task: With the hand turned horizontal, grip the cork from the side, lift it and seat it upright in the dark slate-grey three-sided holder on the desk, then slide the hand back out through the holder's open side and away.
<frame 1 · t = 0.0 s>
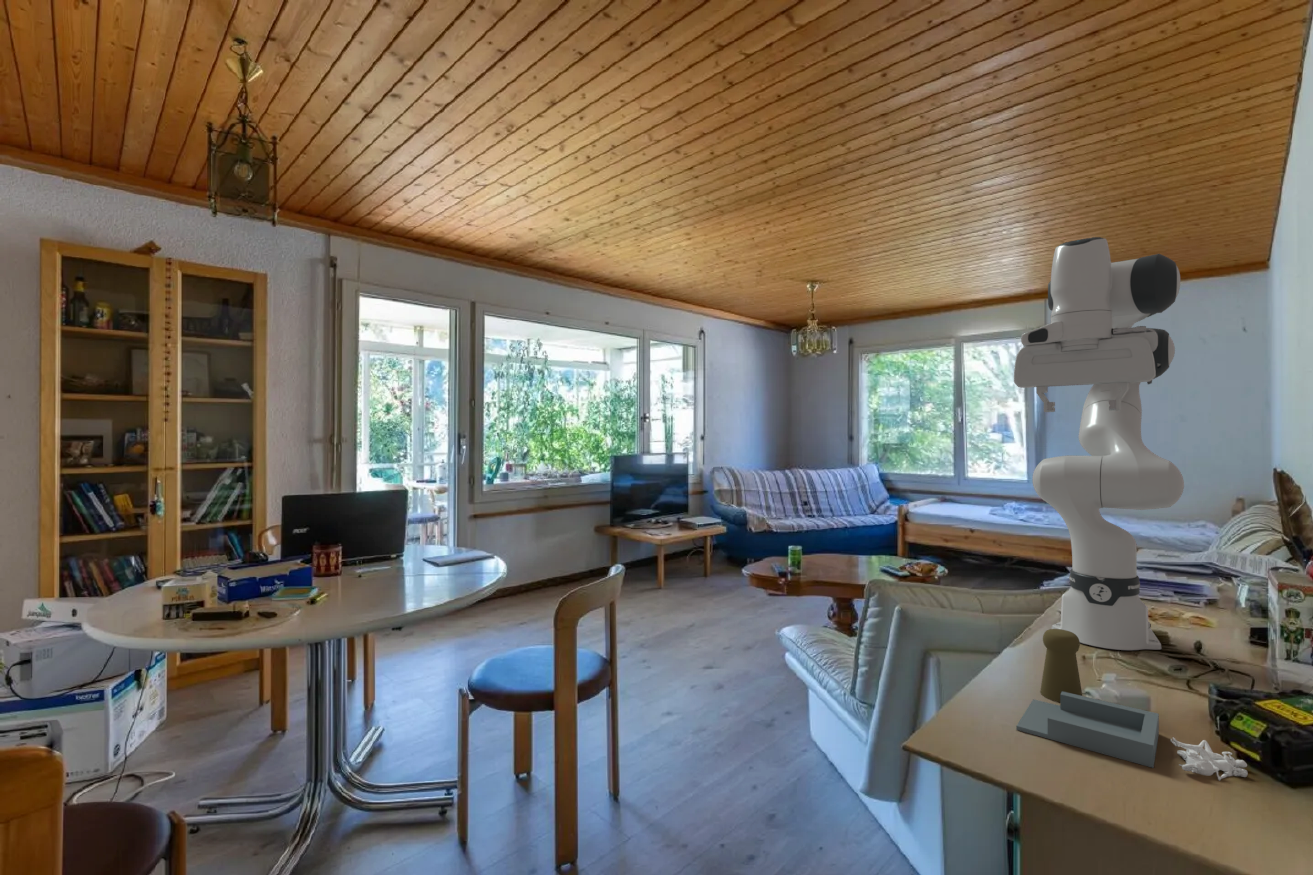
hand: (1081, 411, 107), 48 cm above the table, fingers open, 8 cm apart
cork: (1061, 697, 104), on the table
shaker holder: (1103, 736, 90), on the table
figurine: (1210, 772, 81), on the table
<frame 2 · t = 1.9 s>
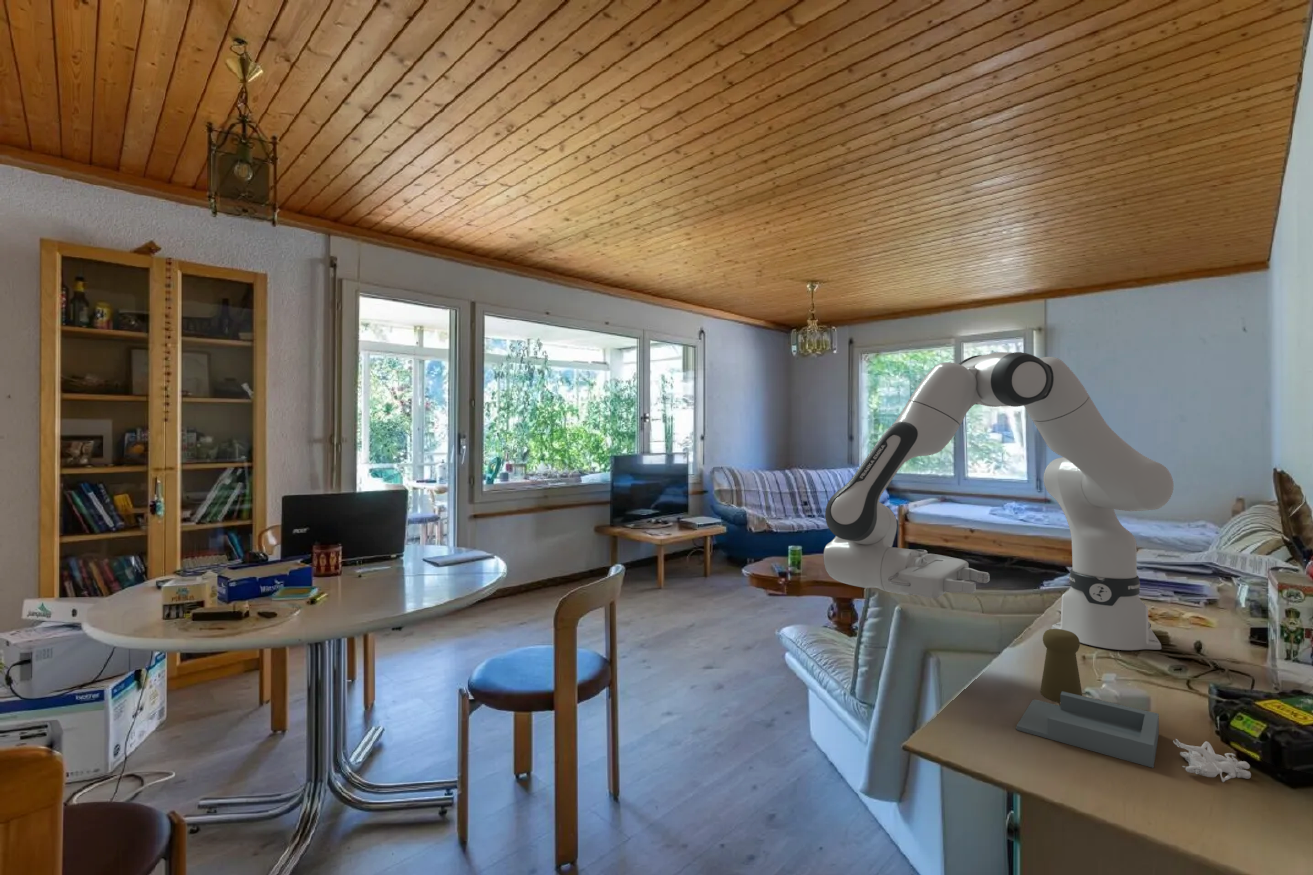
hand: (981, 582, 111), 17 cm above the table, fingers open, 8 cm apart
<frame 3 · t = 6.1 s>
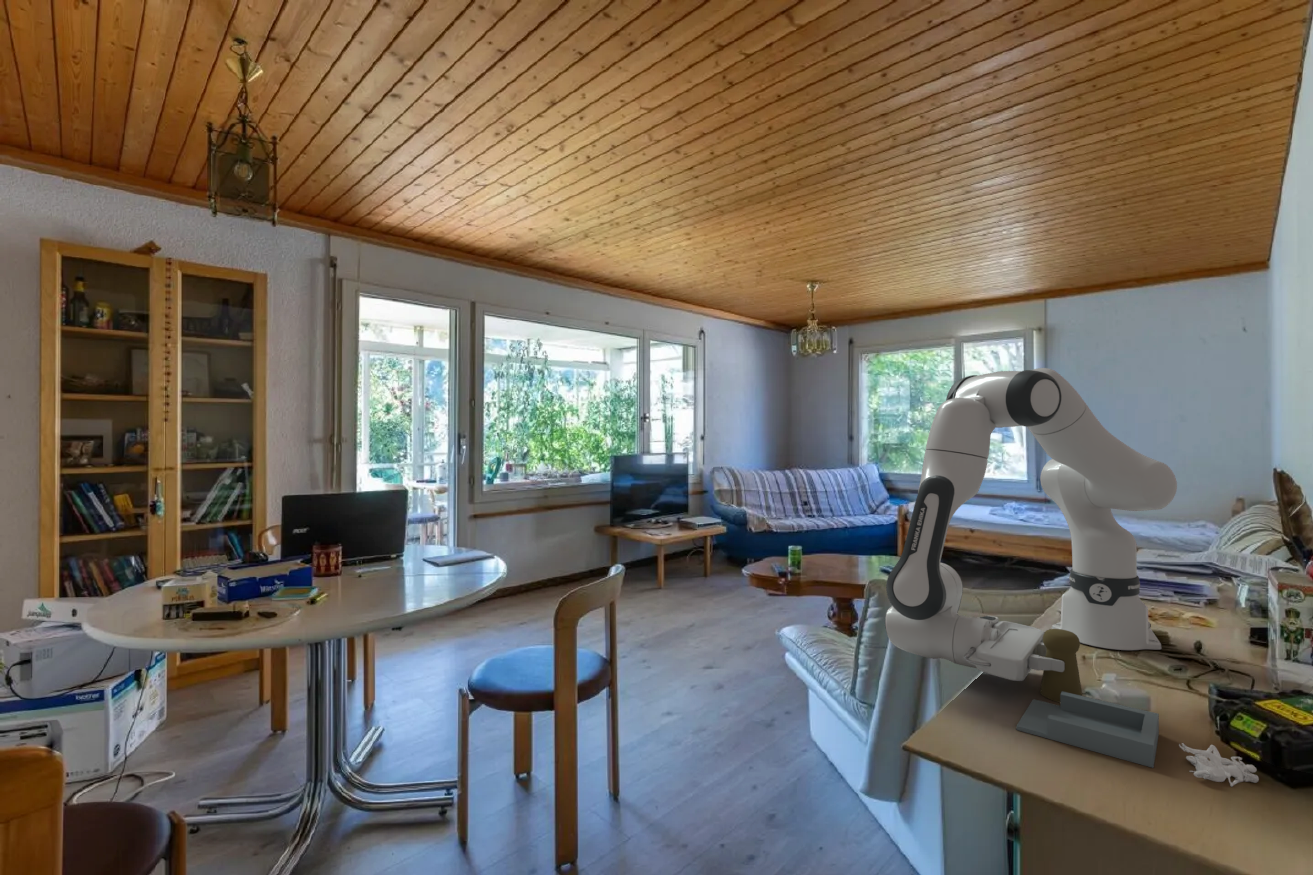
hand: (1067, 661, 103), 6 cm above the table, fingers closed on cork, 4 cm apart
cork: (1061, 696, 104), on the table, touching gripper
when the fingers open (7 cm above the table, at t = 11.5 s): cork stays where it is, resting on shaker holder.
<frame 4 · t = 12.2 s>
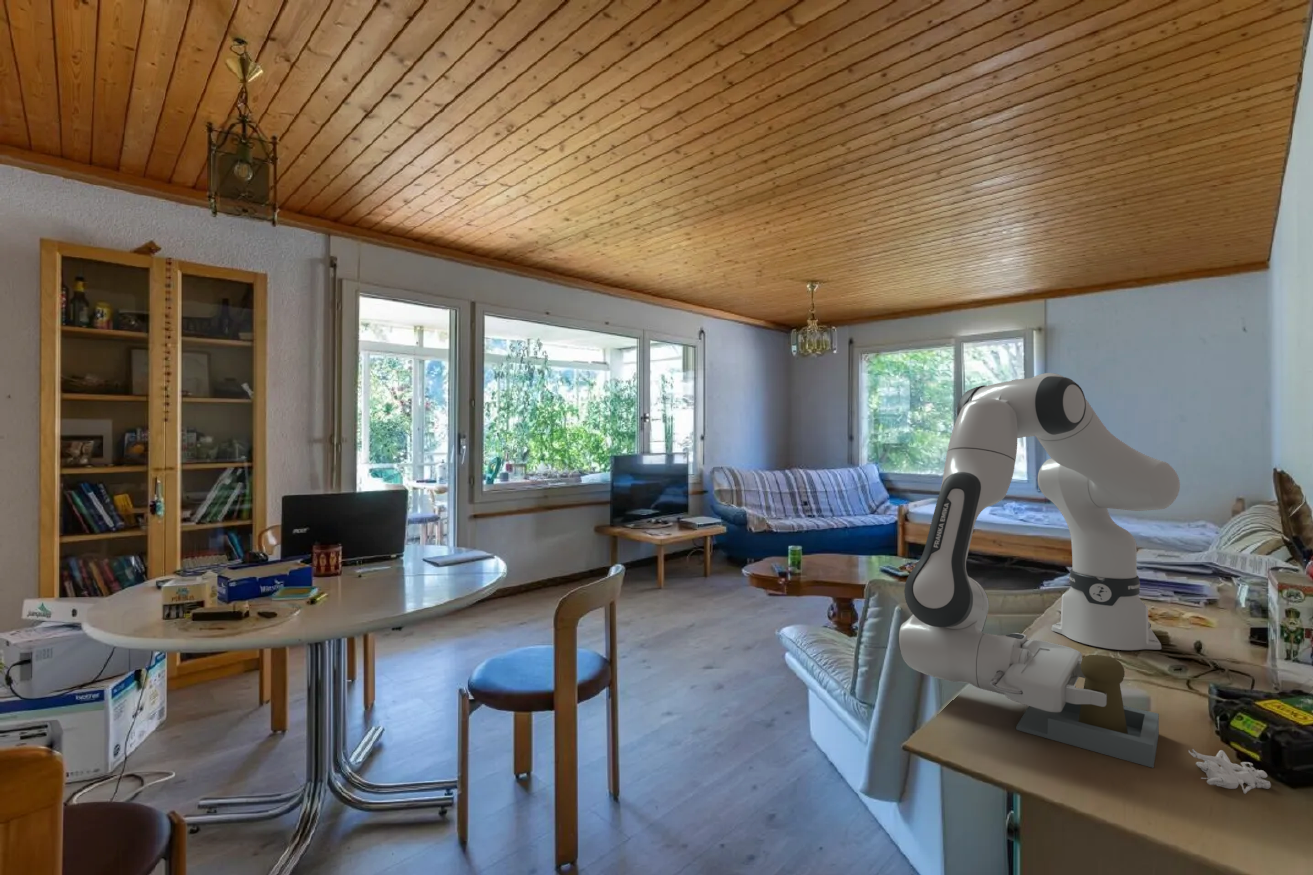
hand: (1110, 688, 89), 7 cm above the table, fingers open, 8 cm apart
cork: (1102, 733, 90), resting on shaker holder
figurine: (1232, 784, 78), on the table
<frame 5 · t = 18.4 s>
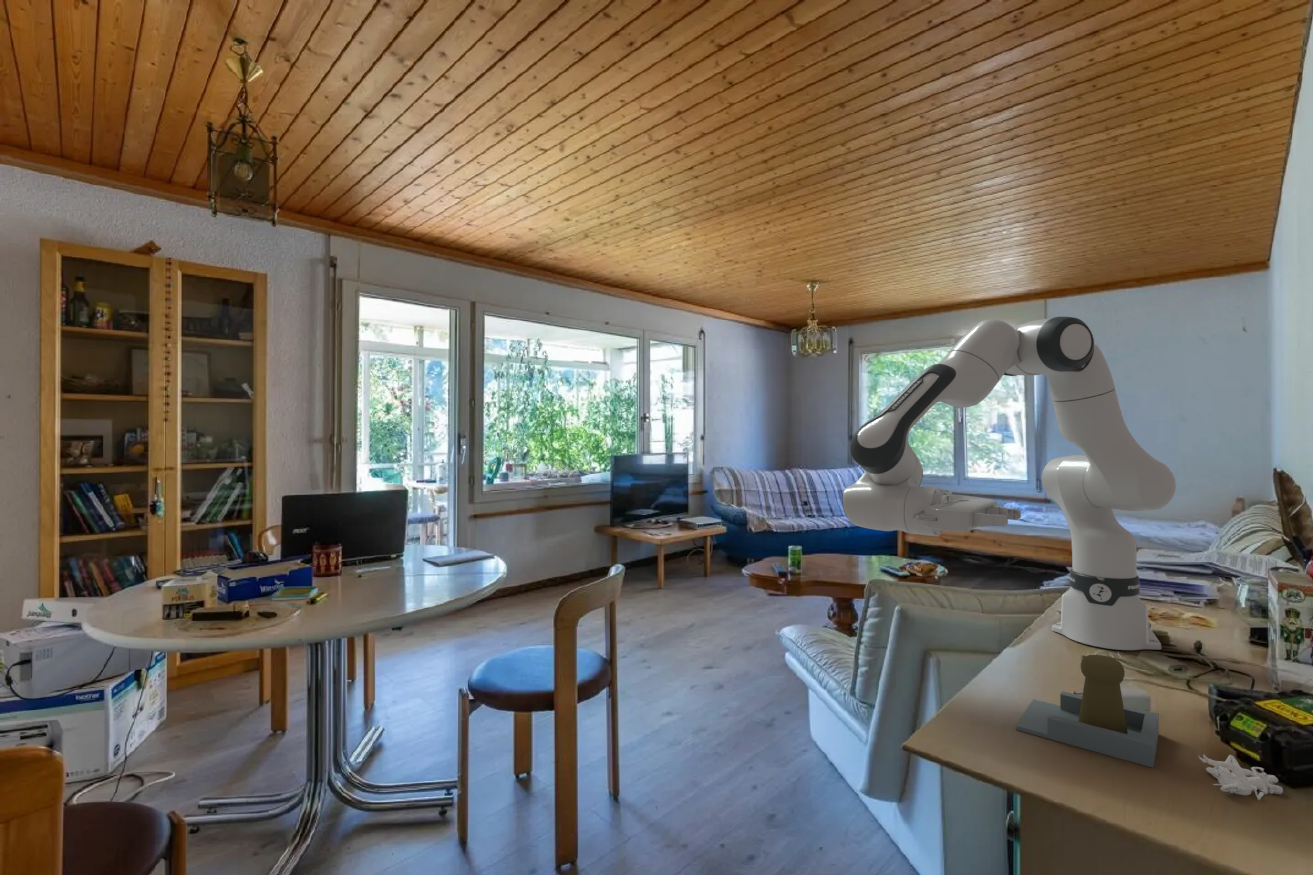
hand: (1013, 517, 104), 30 cm above the table, fingers open, 8 cm apart
figurine: (1244, 790, 77), on the table
everything else where it was.
at the end: cork 1.2 cm from the target spot on the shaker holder, point 0.4 cm above the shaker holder's base; cork tilted 0°; the gripper is holding nothing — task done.
